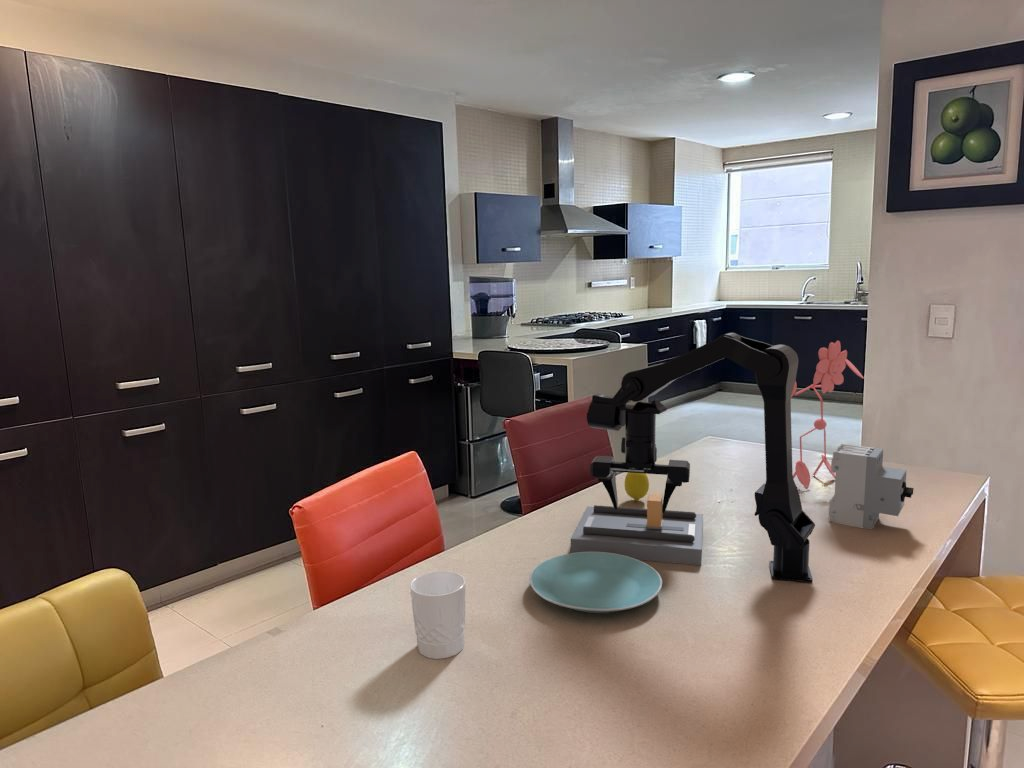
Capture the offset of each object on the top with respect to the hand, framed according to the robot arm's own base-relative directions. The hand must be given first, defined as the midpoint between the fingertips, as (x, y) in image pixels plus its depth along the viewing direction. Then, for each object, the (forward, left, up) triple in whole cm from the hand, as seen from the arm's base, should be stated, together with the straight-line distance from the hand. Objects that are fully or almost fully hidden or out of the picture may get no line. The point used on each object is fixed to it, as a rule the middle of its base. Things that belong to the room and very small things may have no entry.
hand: (639, 510), depth 135 cm
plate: (-23, +5, -7) cm, 25 cm away
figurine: (+42, -40, -6) cm, 58 cm away
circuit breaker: (+19, -45, -6) cm, 49 cm away
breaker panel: (0, 0, -6) cm, 6 cm away
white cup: (-45, +24, -6) cm, 51 cm away
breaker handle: (0, -3, -3) cm, 4 cm away
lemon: (+23, +3, -6) cm, 24 cm away
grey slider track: (0, 0, -3) cm, 3 cm away
